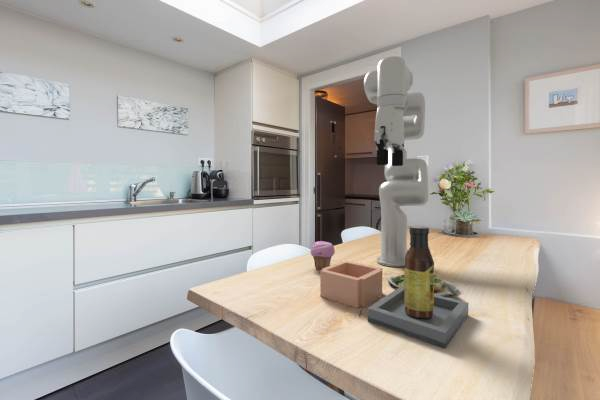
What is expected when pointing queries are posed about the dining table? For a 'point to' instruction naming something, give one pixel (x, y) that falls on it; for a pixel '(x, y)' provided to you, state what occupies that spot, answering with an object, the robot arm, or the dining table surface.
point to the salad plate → (440, 285)
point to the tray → (430, 330)
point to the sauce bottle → (419, 275)
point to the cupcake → (322, 254)
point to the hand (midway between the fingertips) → (390, 165)
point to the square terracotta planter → (351, 283)
